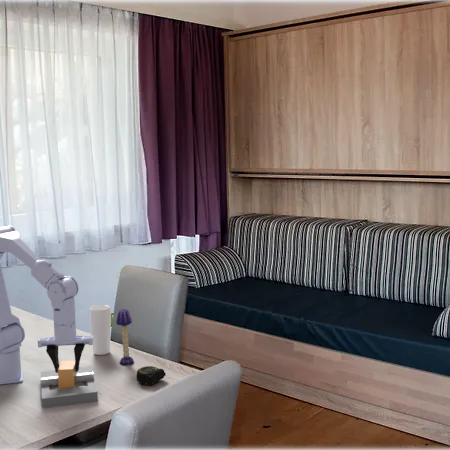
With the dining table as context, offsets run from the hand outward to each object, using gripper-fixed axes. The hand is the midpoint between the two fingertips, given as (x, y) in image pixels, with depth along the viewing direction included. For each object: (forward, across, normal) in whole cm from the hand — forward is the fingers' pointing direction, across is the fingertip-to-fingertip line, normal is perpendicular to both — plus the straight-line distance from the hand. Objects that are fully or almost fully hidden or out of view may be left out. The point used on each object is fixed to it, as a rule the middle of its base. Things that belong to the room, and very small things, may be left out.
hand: (67, 370), depth 175 cm
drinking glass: (+6, -6, -30) cm, 31 cm away
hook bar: (+3, 0, 0) cm, 3 cm away
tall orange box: (+4, 0, 0) cm, 4 cm away
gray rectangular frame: (+6, 0, 0) cm, 6 cm away
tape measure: (+6, -23, -3) cm, 24 cm away
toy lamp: (+6, -15, -19) cm, 25 cm away
